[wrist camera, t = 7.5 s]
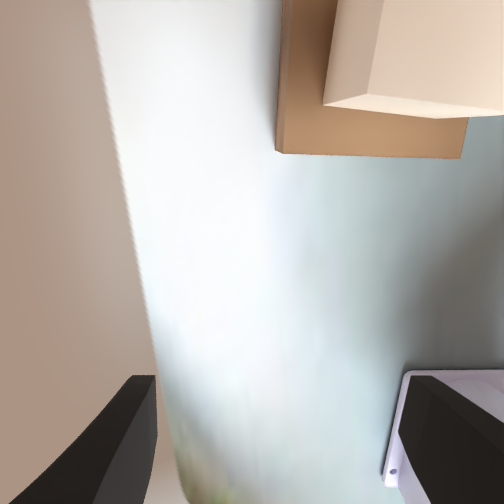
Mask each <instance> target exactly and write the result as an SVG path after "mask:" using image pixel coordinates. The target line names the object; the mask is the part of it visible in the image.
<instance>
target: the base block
mask: <svg viewBox="0 0 504 504" xmlns="http://www.w3.org/2000/svg"><path fill="white" fill-rule="evenodd" d="M337 4H338V0H283V7H282V27H281V46H280V65H279V84H278V103H277V123H276V142H275V150H276V151H278V152H280V153H283V154H310V155H343V156H376V157H409V158H443V159H460V157H461V152H462V147H463V142H464V138H465V133H466V128H467V124H468V119H469V117H459V118H440V119H433V118H425V117H416V116H408V115H400V114H391V113H383V112H375V111H366V110H358V109H350V108H341V107H333V106H324V105H322V102H323V96H324V89H325V83H326V76H327V69H328V63H329V56H330V50H331V43H332V37H333V30H334V23H335V17H336V10H337Z"/></svg>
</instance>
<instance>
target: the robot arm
mask: <svg viewBox="0 0 504 504" xmlns="http://www.w3.org/2000/svg"><path fill="white" fill-rule="evenodd" d="M156 441H157V410H156V380H155V375H132V376H131V377H130V378H129V379H128V380H127V381H126V382H125V384H124V385H123V386H122V387H121V389H120V390H119V391H118V392H117V393H116V395H115V396H114V397H113V398H112V399H111V401H110V402H109V403H108V404H107V405H106V407H105V408H104V409H103V410H102V411H101V412H100V414H99V415H98V416H97V417H96V418H95V419H94V420H93V421H92V422H91V424H90V425H89V426H88V427H87V428H86V429H85V430H84V431H83V432H82V434H81V435H80V436H79V437H78V438H77V439H76V440H75V441H74V442H73V443H72V444H71V445H70V446H69V447H68V448H67V449H66V450H65V451H64V452H63V453H62V454H61V455H60V456H59V457H58V458H57V459H56V460H55V461H54V462H53V463H52V464H51V465H50V466H49V467H48V468H47V469H46V470H45V471H44V472H43V473H42V474H41V475H40V476H39V477H38V478H37V479H36V480H35V481H34V482H32V483H31V484H30V485H29V486H28V487H27V488H26V489H25V490H24V491H23V492H21V493H20V494H19V495H18V496H17V497H16V498H15V499H13V500H12V501H11V502H10V503H9V504H143V502H144V499H145V495H146V491H147V487H148V484H149V480H150V476H151V471H152V465H153V459H154V453H155V447H156ZM382 481H383V484H384V485H385V486H386V487H398V488H399V490H400V492H401V494H402V497H403V499H404V501H405V503H406V504H504V370H412V371H409V372H407V373H406V374H405V375H404V377H403V381H402V386H401V391H400V396H399V400H398V405H397V410H396V414H395V419H394V424H393V428H392V433H391V438H390V443H389V447H388V452H387V457H386V461H385V466H384V471H383V475H382Z"/></svg>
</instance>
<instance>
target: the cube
mask: <svg viewBox="0 0 504 504" xmlns="http://www.w3.org/2000/svg"><path fill="white" fill-rule="evenodd" d="M322 105H324V106H333V107H341V108H350V109H358V110H366V111H375V112H383V113H391V114H400V115H408V116H416V117H425V118H433V119H440V118H459V117H477V116H496V115H504V0H338V4H337V10H336V17H335V23H334V30H333V37H332V43H331V50H330V56H329V63H328V69H327V76H326V83H325V89H324V96H323V102H322Z"/></svg>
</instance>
